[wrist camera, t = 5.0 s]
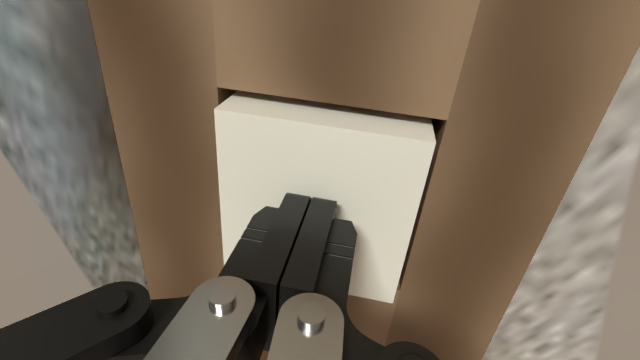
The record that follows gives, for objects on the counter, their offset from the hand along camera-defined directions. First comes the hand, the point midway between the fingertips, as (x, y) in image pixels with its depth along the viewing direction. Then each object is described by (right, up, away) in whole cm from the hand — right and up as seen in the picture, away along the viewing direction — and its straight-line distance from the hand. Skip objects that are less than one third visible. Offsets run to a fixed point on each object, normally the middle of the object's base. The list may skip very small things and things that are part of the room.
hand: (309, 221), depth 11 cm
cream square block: (+1, +2, +4) cm, 4 cm away
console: (+1, -2, +10) cm, 10 cm away
